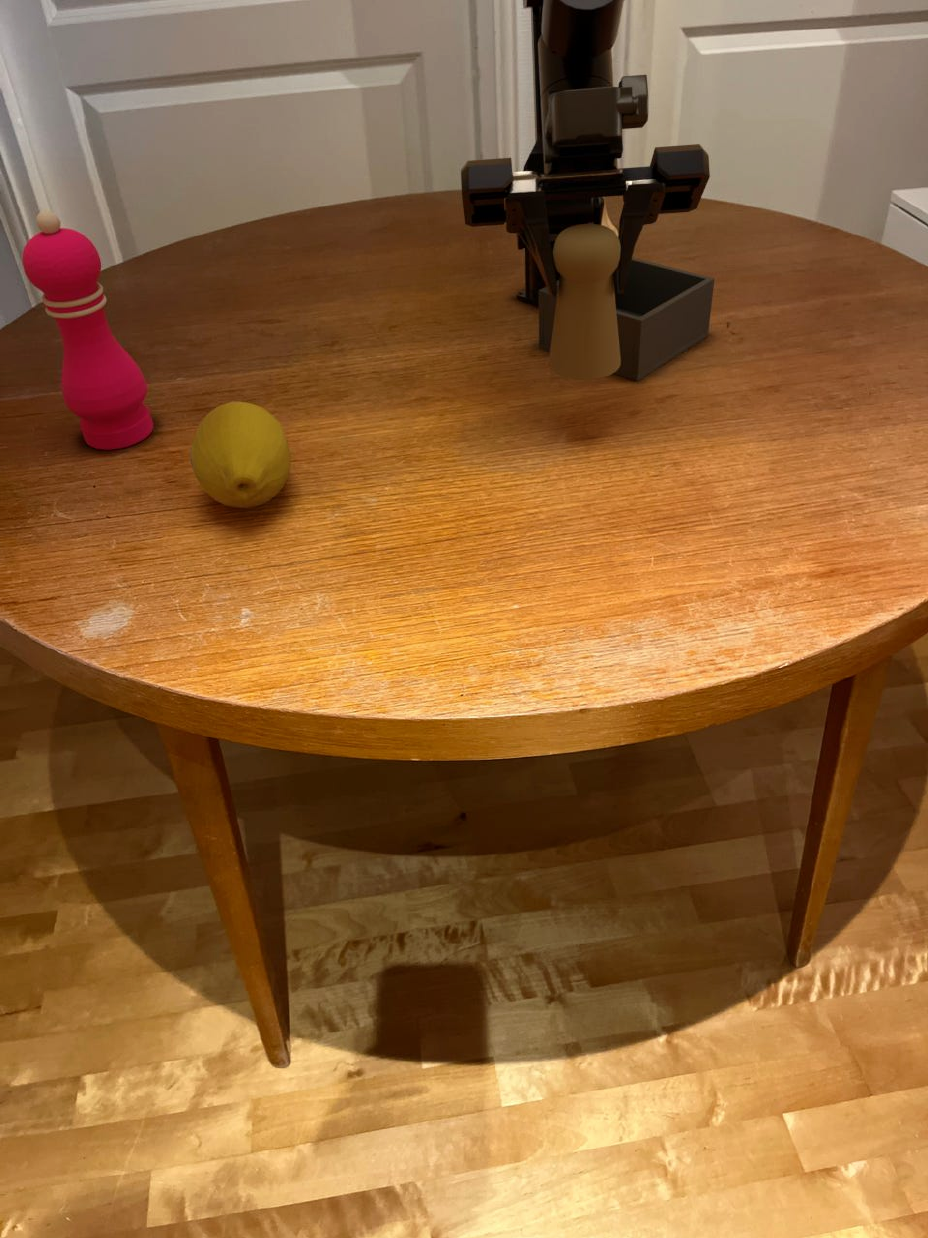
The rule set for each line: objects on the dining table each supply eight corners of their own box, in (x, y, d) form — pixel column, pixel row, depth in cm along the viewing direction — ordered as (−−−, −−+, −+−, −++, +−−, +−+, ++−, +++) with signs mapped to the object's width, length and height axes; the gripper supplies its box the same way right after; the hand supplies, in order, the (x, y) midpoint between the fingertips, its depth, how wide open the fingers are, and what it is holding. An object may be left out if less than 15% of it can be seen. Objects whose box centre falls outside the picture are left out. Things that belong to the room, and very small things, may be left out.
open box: (538, 347, 97) (538, 290, 93) (611, 307, 103) (613, 252, 99) (637, 381, 90) (641, 320, 86) (708, 336, 96) (714, 277, 92)
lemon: (215, 467, 82) (192, 383, 77) (304, 461, 82) (287, 377, 77) (191, 541, 74) (164, 452, 69) (290, 534, 74) (271, 445, 69)
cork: (627, 348, 80) (634, 216, 73) (612, 383, 76) (618, 247, 69) (558, 342, 82) (558, 212, 75) (539, 376, 78) (537, 242, 70)
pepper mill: (87, 461, 85) (3, 233, 71) (73, 427, 90) (-9, 208, 76) (167, 438, 87) (99, 213, 74) (149, 406, 92) (82, 190, 79)
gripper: (452, 40, 67) (462, 258, 66) (719, 19, 66) (732, 240, 65) (460, 128, 78) (469, 315, 77) (689, 111, 77) (700, 300, 76)
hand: (587, 293), depth 74 cm, fingers closed on cork, 5 cm apart
